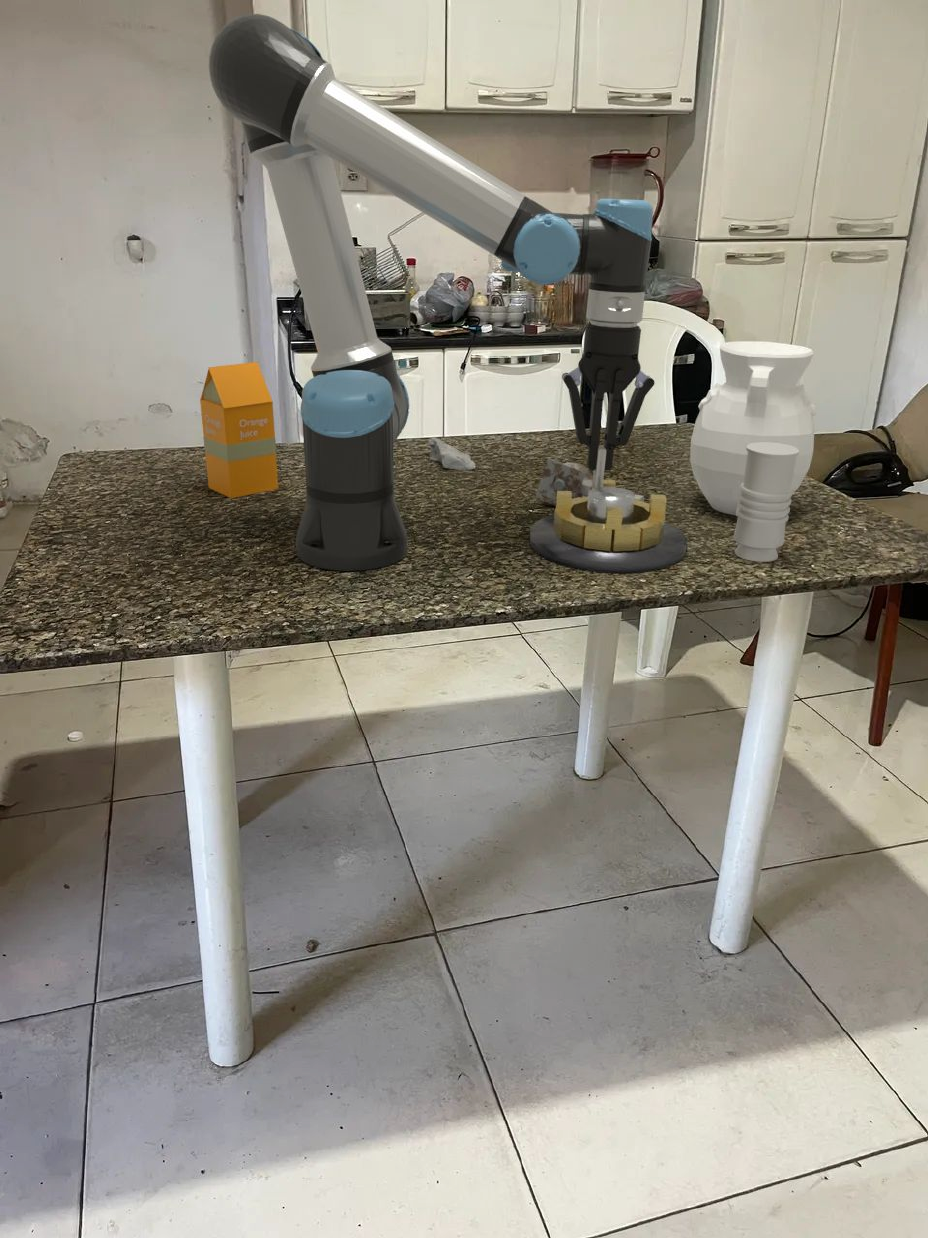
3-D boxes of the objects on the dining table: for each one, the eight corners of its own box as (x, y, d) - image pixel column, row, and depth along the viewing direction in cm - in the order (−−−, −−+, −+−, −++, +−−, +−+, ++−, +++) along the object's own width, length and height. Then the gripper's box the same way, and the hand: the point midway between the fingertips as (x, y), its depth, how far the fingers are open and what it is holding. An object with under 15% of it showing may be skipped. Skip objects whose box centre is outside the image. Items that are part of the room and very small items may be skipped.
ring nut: (533, 529, 135) (534, 491, 132) (603, 509, 144) (606, 473, 141) (613, 558, 124) (616, 519, 122) (683, 535, 133) (688, 497, 131)
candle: (733, 542, 136) (748, 439, 130) (783, 549, 134) (801, 445, 128) (727, 558, 130) (742, 451, 124) (779, 565, 128) (798, 457, 122)
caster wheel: (618, 517, 154) (596, 524, 146) (558, 491, 159) (533, 497, 150) (632, 478, 152) (610, 484, 143) (571, 453, 156) (546, 457, 148)
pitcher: (801, 532, 141) (831, 360, 131) (676, 517, 146) (695, 351, 136) (803, 497, 157) (830, 342, 147) (690, 485, 163) (708, 334, 152)
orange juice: (207, 487, 156) (195, 363, 148) (255, 478, 162) (245, 358, 154) (231, 498, 151) (220, 371, 143) (279, 488, 157) (271, 365, 148)
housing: (544, 574, 124) (547, 520, 121) (518, 520, 144) (520, 472, 141) (707, 571, 126) (715, 517, 123) (660, 518, 146) (665, 470, 143)
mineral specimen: (459, 458, 180) (460, 436, 178) (478, 471, 169) (479, 447, 168) (426, 459, 178) (426, 436, 177) (443, 472, 167) (444, 447, 166)
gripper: (570, 324, 125) (556, 497, 134) (665, 328, 125) (644, 500, 135) (563, 318, 132) (551, 482, 141) (654, 321, 132) (635, 485, 142)
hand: (596, 491), depth 138 cm, fingers closed
